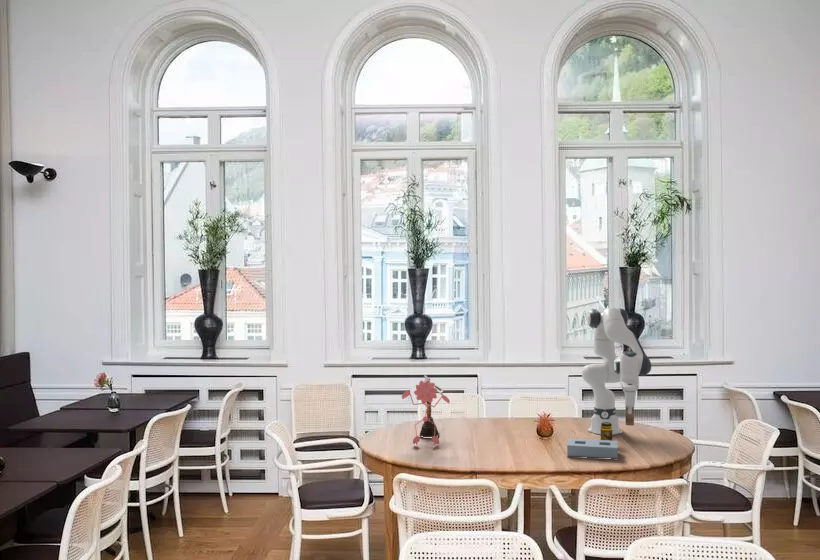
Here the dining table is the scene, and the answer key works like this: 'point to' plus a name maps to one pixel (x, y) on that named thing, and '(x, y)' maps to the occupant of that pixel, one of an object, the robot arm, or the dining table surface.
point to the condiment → (606, 431)
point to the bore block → (592, 448)
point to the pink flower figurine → (425, 394)
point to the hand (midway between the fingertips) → (629, 412)
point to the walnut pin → (629, 416)
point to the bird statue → (430, 418)
